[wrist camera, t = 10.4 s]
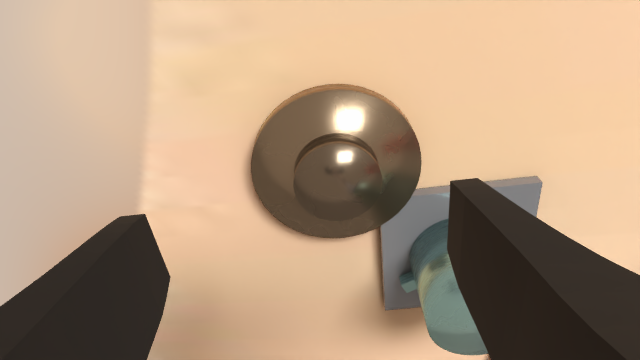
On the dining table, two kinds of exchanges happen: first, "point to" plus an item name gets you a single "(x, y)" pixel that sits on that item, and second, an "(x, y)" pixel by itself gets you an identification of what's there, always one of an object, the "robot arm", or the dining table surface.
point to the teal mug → (441, 293)
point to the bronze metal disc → (335, 161)
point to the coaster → (424, 213)
